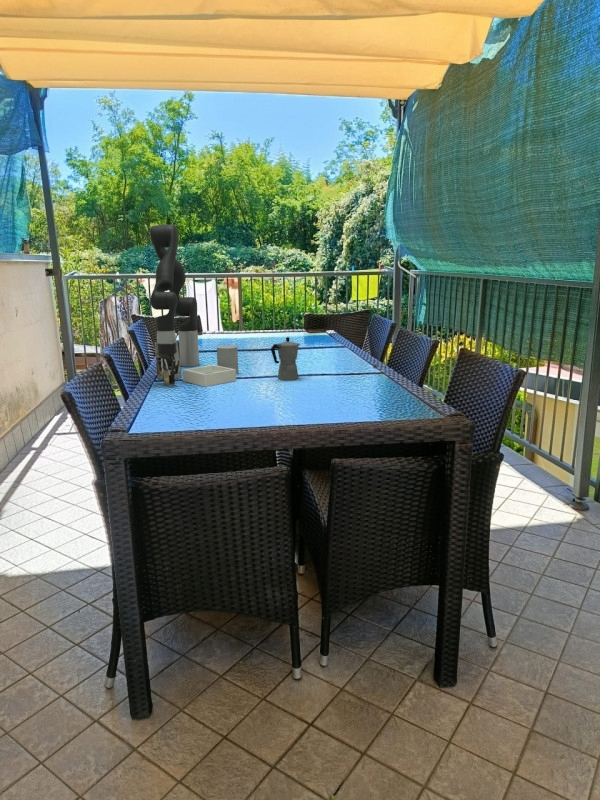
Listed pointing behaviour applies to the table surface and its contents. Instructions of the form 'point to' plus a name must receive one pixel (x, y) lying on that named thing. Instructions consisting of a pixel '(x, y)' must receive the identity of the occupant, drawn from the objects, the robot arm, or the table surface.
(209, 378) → the box
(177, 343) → the coffee box
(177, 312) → the robot arm
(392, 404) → the table surface
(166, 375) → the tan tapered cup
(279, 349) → the coffeepot
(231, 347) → the gray cylinder
